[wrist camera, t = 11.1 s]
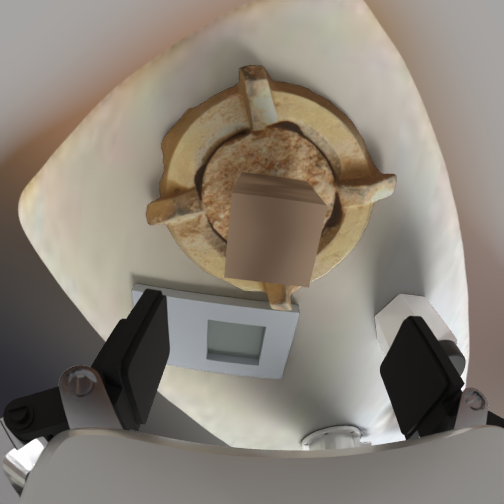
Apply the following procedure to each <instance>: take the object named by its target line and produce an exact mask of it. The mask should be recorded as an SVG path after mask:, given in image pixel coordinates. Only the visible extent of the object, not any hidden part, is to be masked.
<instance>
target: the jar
mask: <svg viewBox="0 0 504 504" xmlns="http://www.w3.org/2000/svg"><path fill="white" fill-rule="evenodd" d="M408 316H421V317H422V318H423V319H424V320H425V322H426V323H427V325H428V326H429V328H430V329H431V331H432V332H433V334H434V335H435V337H436V338H437V340H438V341H439V343H440V344H441V346H442V347H443V349H444V351H445V352H446V354H447V355H448V357H449V358H450V360H451V362H452V363H453V365H454V367H455V368H456V370H457V372H458V373H459V375H460V376H461V374H462V373H463V371H464V368H465V363H466V361H465V357H464V356H463V354H462V353H461V351H460V350H459V348H458V347H457V345H456V344H457V339H456V337H455V336H454V334H453V333H452V332H451V330H450V329H449V327H448V326H447V325H446V323H445V322H444V321H443V319H442V318H441V317H440V315H439V314H438V313H437V311H436V310H435V309H434V307H433V306H432V305H431V304H430V302H429V301H428V300H427V299H426V297H423V296H415V295H408V294H398V295H397V296H396V297H395V298H394V299H393V300H392V301H391V302H390V303H389V304H388V305H387V306H386V307H384V308H383V309H382V310H381V311H380V312H379V313H378V314H377V315H375V325H376V333H377V340H378V343H379V345H380V347H381V349H382V352H383V354H384V356H386V355H387V353H388V351H389V349H390V347H391V345H392V343H393V341H394V339H395V337H396V335H397V333H398V331H399V328H400V326H401V324H402V322H403V320H405V319H406V318H407V317H408Z"/></svg>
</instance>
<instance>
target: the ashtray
mask: <svg viewBox="0 0 504 504" xmlns="http://www.w3.org/2000/svg"><path fill="white" fill-rule="evenodd" d="M161 149H162V151H163V156H164V158H163V162H164V165H165V166H164V173H163V176H162V179H161V181H160V190H159V191H160V195H161V197H160V198H159V199H157V200H155V201H152V202H151V203H150V204H148V205H147V211H146V217H147V222H148V224H149V225H159V224H165V225H167V226H168V228H169V230H170V232H171V234H172V236H173V238H174V239H175V241H176V242H177V244H178V245H179V246H180V247H181V249H182V250H183V251H184V252H185V254H186V255H187V256H188V257H189V258H190V259H192V260H193V261H194V262H195V263H196V264H197V265H199V266H200V267H201V268H202V269H203V270H205V271H206V272H208V273H209V274H211V275H213V276H216V277H219V278H221V279H223V280H225V281H227V282H229V283H230V284H232V285H234V286H237V287H239V288H240V289H241V290H243V291H264V292H266V294H267V296H268V300H269V304H270V306H271V308H272V309H276V310H282V311H289V310H292V305H291V299H290V296H291V294H292V293H293V292H294V291H296V290H297V289H298V288H300V287H302V286H293V285H284V284H275V283H266V282H257V281H249V280H240V279H232V278H224V273H225V261H226V250H227V239H228V228H229V217H230V207H231V196H232V191H233V189H234V187H235V185H236V183H237V181H238V179H239V177H240V175H241V172H245V173H254V174H262V175H270V176H277V177H284V178H291V179H298V180H304V181H307V182H308V183H309V184H310V185H311V187H312V188H313V189H314V190H315V191H316V193H317V194H318V195H319V196H320V197H321V199H322V200H323V201H324V202H325V204H326V205H327V208H326V213H325V218H324V223H323V228H322V232H321V237H320V241H319V246H318V250H317V255H316V259H315V264H314V268H313V272H312V276H311V280H310V282H312V281H314V280H316V279H319V278H321V277H322V276H324V275H325V274H326V273H328V272H329V271H330V270H332V269H333V268H334V267H335V266H336V265H338V264H339V263H340V262H341V261H342V260H343V259H344V258H345V257H346V256H347V255H348V254H349V253H350V252H351V250H352V249H353V248H354V247H355V246H356V244H357V242H358V241H359V239H360V237H361V235H362V233H363V231H364V230H365V229H366V226H367V224H368V221H369V219H370V214H371V210H372V207H373V205H374V203H375V202H376V201H377V200H380V199H382V198H385V197H389V196H390V195H392V193H393V192H394V188H395V185H396V175H395V174H383V173H380V171H379V170H378V169H377V168H376V166H375V165H374V164H373V161H372V159H371V157H370V155H369V153H368V151H367V148H366V145H365V142H364V140H363V138H362V137H361V135H360V134H359V132H358V131H357V129H356V127H355V125H354V124H353V123H352V121H351V120H350V119H349V118H348V117H347V116H346V115H345V114H344V113H342V112H341V111H340V110H339V109H338V108H336V107H335V106H334V105H333V104H332V103H331V102H330V101H329V100H327V99H325V98H323V97H321V96H319V95H317V94H315V93H313V92H312V91H310V90H309V89H307V88H304V87H301V86H298V85H293V84H289V83H285V82H278V81H274V80H272V79H271V78H270V76H269V74H268V73H267V71H266V70H265V68H264V67H263V66H256V65H249V66H244V67H241V68H239V83H238V84H236V85H235V86H234V87H231V88H228V89H226V90H224V91H222V92H220V93H218V94H216V95H214V96H213V97H211V98H209V99H208V100H207V101H205V102H204V103H202V104H200V105H199V106H197V107H195V108H190V109H188V110H187V111H186V113H185V114H184V115H183V116H182V118H181V119H180V120H179V121H178V122H177V124H176V125H174V126H173V127H172V129H171V130H170V131H169V132H168V133H167V135H166V136H165V138H164V139H163V141H162V143H161Z"/></svg>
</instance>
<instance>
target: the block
mask: <svg viewBox="0 0 504 504" xmlns="http://www.w3.org/2000/svg"><path fill="white" fill-rule="evenodd" d="M326 208H327V205H326V204H325V202H324V201H323V200H322V199H321V197H320V196H319V195H318V194H317V193H316V191H315V190H314V189H313V188H312V187H311V185H310V184H309V183H308V182H307V181H304V180H298V179H291V178H284V177H277V176H270V175H262V174H254V173H245V172H241V175H240V177H239V179H238V181H237V183H236V185H235V187H234V189H233V191H232V196H231V207H230V217H229V228H228V239H227V250H226V261H225V273H224V278H232V279H240V280H249V281H257V282H266V283H275V284H284V285H293V286H302V287H309V284H310V280H311V276H312V272H313V268H314V264H315V259H316V255H317V250H318V246H319V241H320V237H321V232H322V228H323V223H324V218H325V213H326Z"/></svg>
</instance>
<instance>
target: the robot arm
mask: <svg viewBox="0 0 504 504" xmlns="http://www.w3.org/2000/svg"><path fill="white" fill-rule="evenodd" d="M169 354H170V341H169V327H168V311H167V297H166V295H162V291H160V290H154V289H148V288H147V289H145V291H144V292H143V294H142V295H141V297H140V298H139V300H138V302H137V303H136V305H135V306H134V308H133V309H132V311H131V313H130V314H129V316H128V317H127V319H121V320H120V321H119V322H118V324H117V325H116V327H115V328H114V330H113V331H112V333H111V335H110V336H109V338H108V339H107V341H106V343H105V344H104V346H103V347H102V349H101V351H100V352H99V354H98V356H97V358H96V359H95V361H94V363H93V364H92V366H91V367H89V366H83V365H79V366H74V367H71V368H69V369H68V370H66V371H65V372H64V373H63V374H62V375H61V377H60V380H59V386H58V387H55V388H52V389H49V390H46V391H42V392H39V393H35V394H32V395H29V396H25V397H21V398H18V399H15V400H13V401H11V402H10V403H9V404H8V405H7V406H6V408H5V410H4V414H3V418H1V419H0V504H504V419H503V418H500V417H499V416H497V415H495V414H493V413H492V412H490V411H488V401H487V398H486V397H485V395H484V394H483V393H482V392H481V391H479V390H478V389H476V388H473V387H469V388H466V389H465V390H463V392H462V391H461V388H462V386H463V385H464V382H463V380H462V378H461V377H460V375H459V373H458V372H457V370H456V368H455V367H454V365H453V363H452V362H451V360H450V358H449V357H448V355H447V354H446V352H445V351H444V349H443V347H442V346H441V344H440V343H439V341H438V340H437V338H436V337H435V335H434V334H433V332H432V331H431V329H430V328H429V326H428V325H427V323H426V322H425V320H424V319H423V318H422V317H421V316H408V317H407V318H406V319H405V320H403V322H402V324H401V326H400V328H399V331H398V333H397V335H396V337H395V339H394V341H393V343H392V345H391V347H390V349H389V351H388V353H387V355H386V356H385V358H384V360H383V362H382V364H381V366H380V374H381V377H382V379H383V382H384V385H385V387H386V390H387V393H388V395H389V398H390V401H391V404H392V407H393V409H394V412H395V415H396V418H397V421H398V424H399V427H400V430H401V432H402V434H403V435H405V438H406V440H405V441H399V442H393V443H387V444H381V445H373V446H371V442H364V443H361V442H360V441H359V440H360V439H361V432H360V430H359V429H358V428H356V427H352V426H335V427H329V428H325V429H322V430H319V431H316V432H314V433H312V434H310V435H308V436H307V437H306V438H305V439H304V440H303V441H302V443H301V446H302V450H303V451H288V450H259V449H244V448H233V447H224V446H216V445H208V444H201V443H194V442H188V441H182V440H176V439H171V438H166V437H161V436H156V435H151V434H145V433H140V432H136V431H129V430H130V429H133V430H137V431H138V430H139V427H140V424H145V423H146V421H147V418H148V415H149V412H150V409H151V406H152V403H153V400H154V397H155V394H156V392H157V389H158V386H159V383H160V380H161V377H162V375H163V372H164V369H165V366H166V363H167V361H168V358H169ZM419 436H420V437H419ZM418 437H419V438H418ZM34 464H35V465H34ZM31 469H32V470H31ZM30 470H31V473H30V475H29V477H28V479H27V482H26V484H25V476H26V474H27V473H28V472H29V471H30Z"/></svg>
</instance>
